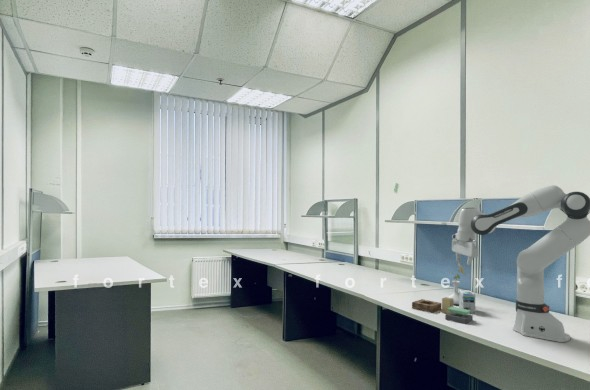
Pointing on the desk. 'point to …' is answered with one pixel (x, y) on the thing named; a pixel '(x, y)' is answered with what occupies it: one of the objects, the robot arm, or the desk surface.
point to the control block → (459, 317)
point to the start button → (459, 311)
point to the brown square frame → (426, 305)
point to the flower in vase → (456, 286)
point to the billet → (447, 304)
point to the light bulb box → (467, 300)
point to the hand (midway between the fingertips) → (463, 263)
